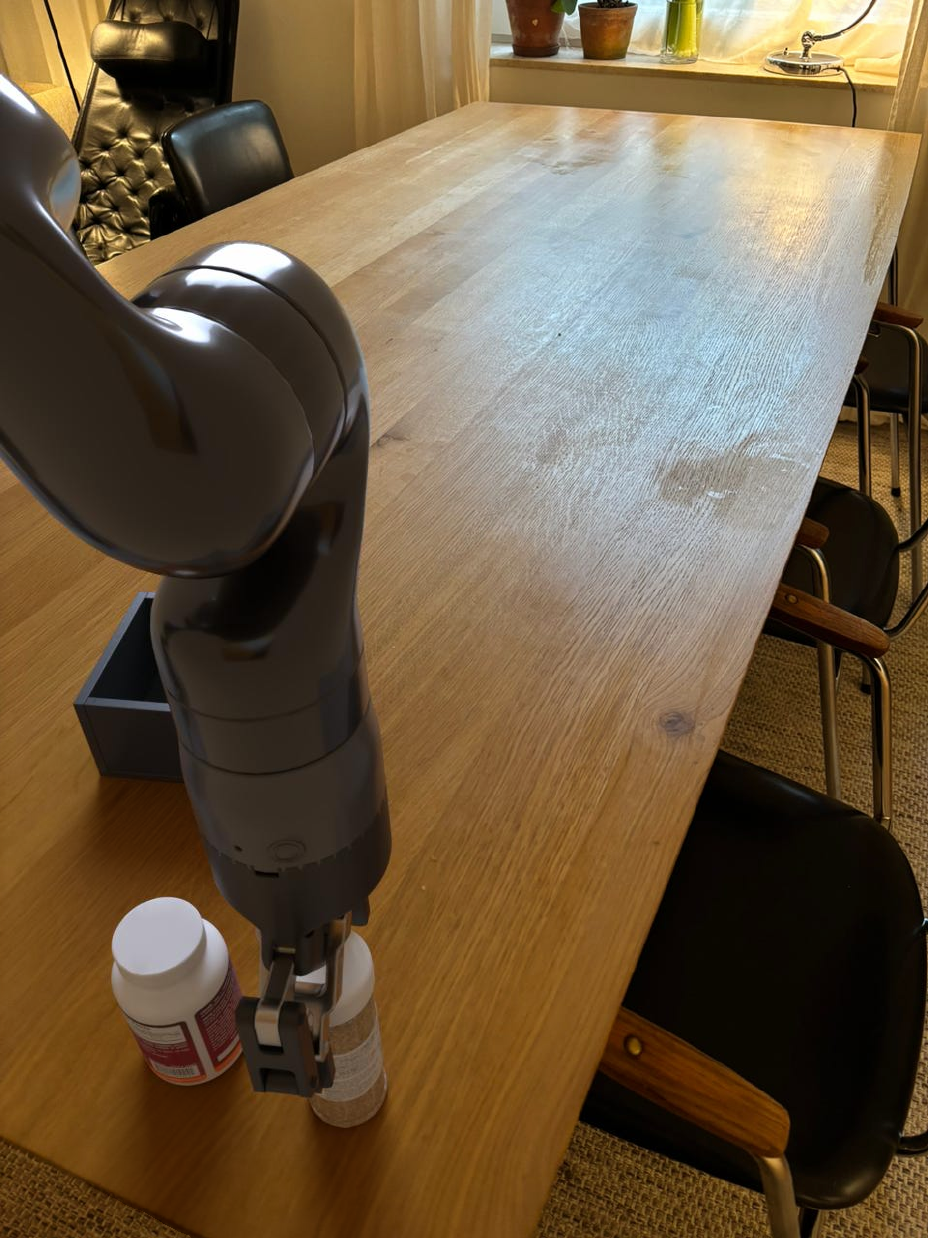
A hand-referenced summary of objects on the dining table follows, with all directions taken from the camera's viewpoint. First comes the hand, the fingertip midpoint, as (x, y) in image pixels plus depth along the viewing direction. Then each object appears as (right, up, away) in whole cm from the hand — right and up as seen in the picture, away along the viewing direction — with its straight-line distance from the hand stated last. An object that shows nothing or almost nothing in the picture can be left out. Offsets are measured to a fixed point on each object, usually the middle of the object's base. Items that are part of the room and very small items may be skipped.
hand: (331, 995), depth 49 cm
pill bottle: (-9, -6, +9) cm, 14 cm away
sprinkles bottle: (0, -8, +7) cm, 11 cm away
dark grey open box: (-14, +11, +29) cm, 34 cm away
